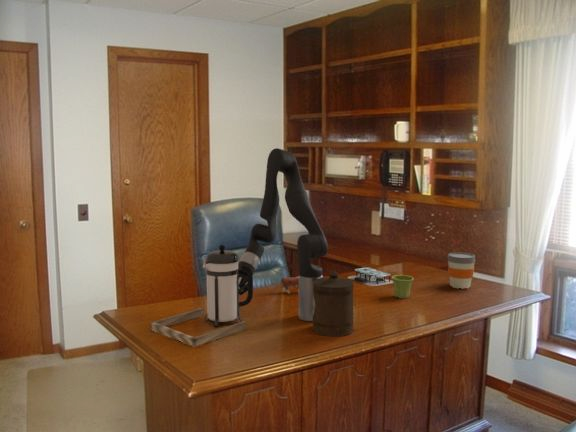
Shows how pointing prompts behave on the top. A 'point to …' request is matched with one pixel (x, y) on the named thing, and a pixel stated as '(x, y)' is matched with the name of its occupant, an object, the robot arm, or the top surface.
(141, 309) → the top surface
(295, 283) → the bull figurine
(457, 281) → the reusable coffee cup
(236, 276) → the coffee press
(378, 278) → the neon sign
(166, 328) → the birch stand
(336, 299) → the wooden container
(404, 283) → the plant pot
